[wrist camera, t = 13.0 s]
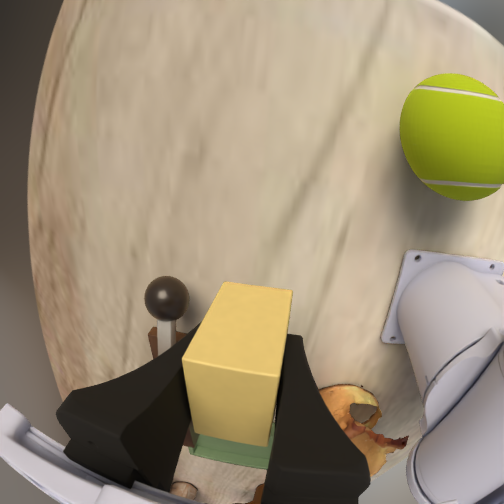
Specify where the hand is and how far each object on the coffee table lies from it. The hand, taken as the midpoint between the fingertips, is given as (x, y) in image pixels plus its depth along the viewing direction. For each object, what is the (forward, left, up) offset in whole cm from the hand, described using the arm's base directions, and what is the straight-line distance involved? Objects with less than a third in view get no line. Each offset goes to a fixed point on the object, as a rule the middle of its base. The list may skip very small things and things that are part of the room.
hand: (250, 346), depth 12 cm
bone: (-7, +16, -10) cm, 20 cm away
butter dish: (+3, +24, -9) cm, 26 cm away
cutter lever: (+7, +8, -6) cm, 12 cm away
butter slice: (0, 0, -1) cm, 1 cm away
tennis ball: (-10, -10, -10) cm, 17 cm away
